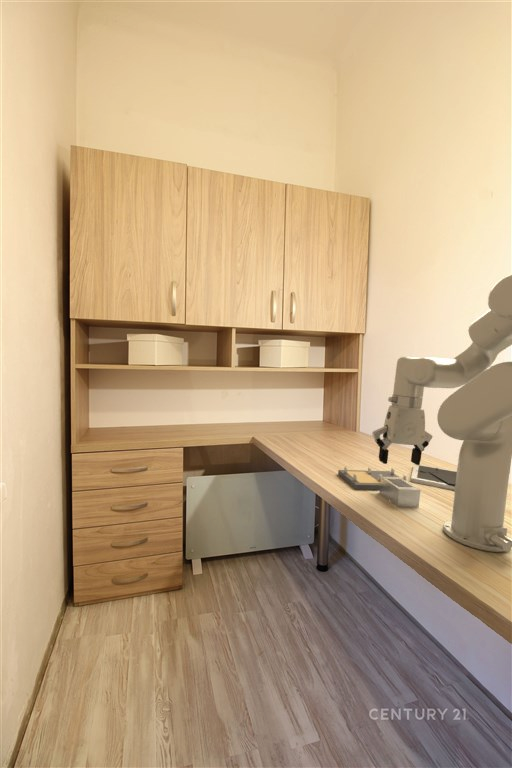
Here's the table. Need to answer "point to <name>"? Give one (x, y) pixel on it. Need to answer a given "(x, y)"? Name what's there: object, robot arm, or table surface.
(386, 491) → the block
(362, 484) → the tray
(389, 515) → the table surface
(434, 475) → the picture frame
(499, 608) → the table surface
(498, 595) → the table surface
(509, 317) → the robot arm
